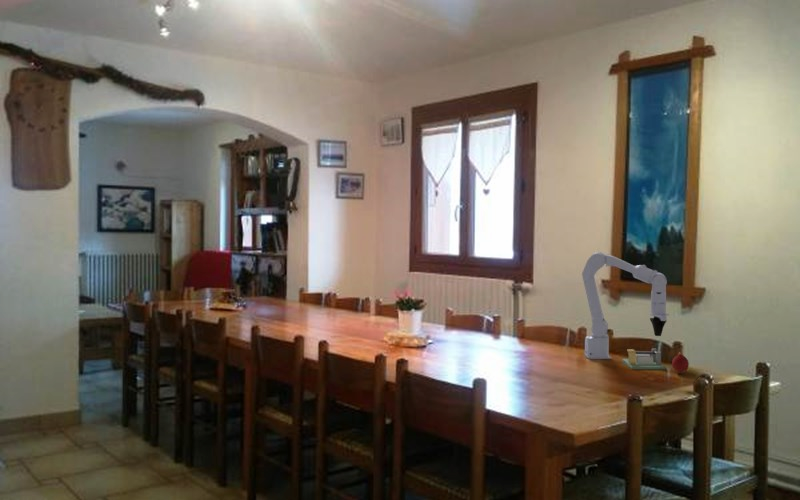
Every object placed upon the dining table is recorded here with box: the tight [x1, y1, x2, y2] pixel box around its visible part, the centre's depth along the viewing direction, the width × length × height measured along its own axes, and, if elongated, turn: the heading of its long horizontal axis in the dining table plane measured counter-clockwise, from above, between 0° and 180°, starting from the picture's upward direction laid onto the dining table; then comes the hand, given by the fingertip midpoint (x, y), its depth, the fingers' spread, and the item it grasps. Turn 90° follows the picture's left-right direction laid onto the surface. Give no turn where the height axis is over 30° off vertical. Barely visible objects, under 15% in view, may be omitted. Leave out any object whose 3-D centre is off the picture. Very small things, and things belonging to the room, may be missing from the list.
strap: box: [627, 350, 657, 355], centre depth 268 cm, size 11×4×1 cm, turn 86°
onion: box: [671, 351, 690, 374], centre depth 255 cm, size 6×6×8 cm
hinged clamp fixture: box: [621, 348, 666, 371], centre depth 268 cm, size 13×14×6 cm
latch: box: [626, 348, 636, 365], centre depth 267 cm, size 2×4×5 cm, turn 176°
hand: (657, 335), depth 275 cm, fingers closed
